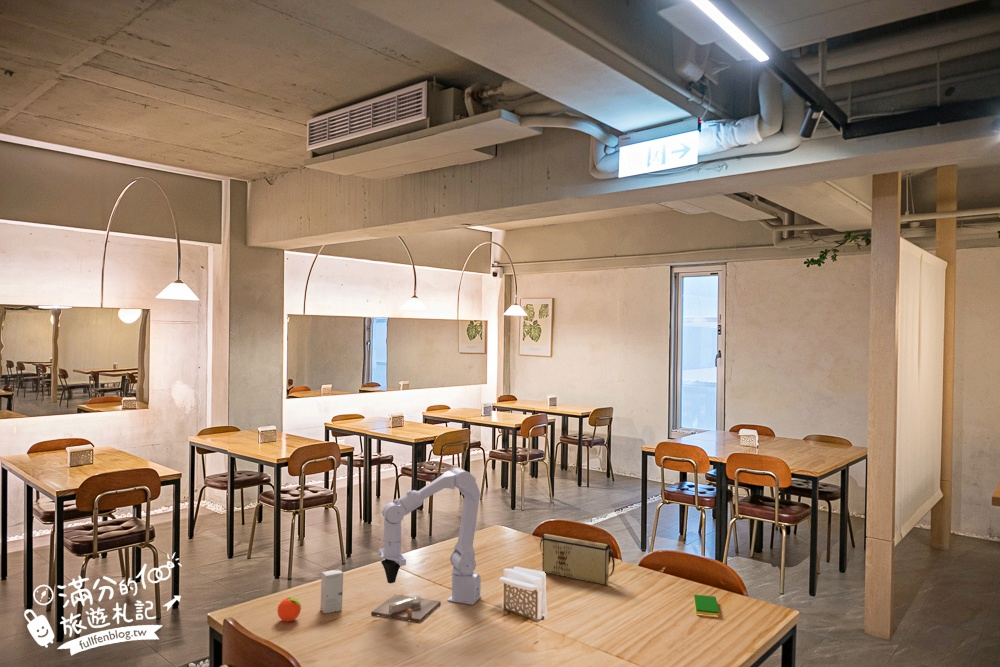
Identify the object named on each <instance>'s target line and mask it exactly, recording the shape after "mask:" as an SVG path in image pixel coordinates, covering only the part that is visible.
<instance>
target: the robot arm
mask: <svg viewBox="0 0 1000 667" xmlns="http://www.w3.org/2000/svg"><path fill="white" fill-rule="evenodd" d="M456 488H457V489H458V490H459V491H460V493H461V494H462V495H463V497H464V498H463V505H462V512H461V519H460V524H459V531H458V532H459V533H458V537H457V542H456V543H455V545H454V549H453V551H452V553H451V554H450V558H449V561H450V564H451V565H452V567H453V568H452V570H451V572H452V573H451V595H450V596H449V597H448V598H447V601H448V602H452V601H453V602H455V603H460V604H467V605H474V604H475V603H476V602H477V601H478V600H480V598H482V595H481V588H482V587H481V586H482V585H481V582H482V579H481V575H480V574H478V573H476V572H474V571H475V570H476V567H477V566H476V565H477V562H476V560H475V559H476V558H475V556H476V555H475V554H476V553H475V549H474V548H475V547H474V539H475V534H476V533H475V532H476V525H477V518H478V512H479V505H480V498H481V492H480V489H479V487H478V484H477V482H476V478H475V476H474V475H473V474H472V473H471V472H470V471H466V470H465V469H463V468H462V467H459V466H454V467H452V468H451V469H449V470H447V471H444V473H443V474H441V475H439V477H437V478H435V479H434V480H433V481H431V482H430V483H428V484H427V485H425V486H424V487H422V488H421V489H419V490H415V489H412V490H410V489H409V490H407V491H406V494H404V495H402V496H401V497H399V498H398V499H397V498H395V499H394V500H393V501H392V502H388V503H386V504H385V506H384V507H383V509H382V510H381V514H382V517H383V520H384V521H383V543H382V544H383V548H378V555H379V558H380V559H381V564H382V567H383V569H384V572H385V577H386V581H387V583H388V584H394V583H396V580H397V576H398V573H399V570H400V568H401V567H404V566H407V559H406V558H405V557H404V556H403V553H402V521H403V520H404V517H405V516H407V515H408V514H410V513H411V512H413V511H414V510H416V509H417V508H420V507H421V506H423V502H424V500H425V499H428V498H429V497H431V496H433V495H434V494H437V493H438V492H440V491H442V490H444V489H451V490H453V489H454V490H455V489H456ZM453 602H452V603H453Z"/></svg>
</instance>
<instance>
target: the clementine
mask: <svg viewBox="0 0 1000 667" xmlns="http://www.w3.org/2000/svg"><path fill="white" fill-rule="evenodd" d="M301 609H302V605H301V603H300V601H299V600H298V599H296V598H295V597H290V596H289V597H286V598H284V599H282V600H281V601H280V602H279V604H278V606H277V615H278V618H280V621H283V622H292V621H294V620H296V619H297V618H298V617H299V615H300V613H301Z"/></svg>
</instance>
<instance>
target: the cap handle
mask: <svg viewBox="0 0 1000 667" xmlns="http://www.w3.org/2000/svg"><path fill="white" fill-rule="evenodd" d="M421 598H422V597H421V596H420V595H411V596H410V598H409V599H406V600H403V601H400V602H397V603H394V604H391V605H389V613H390V614H393V613H396V612H399V611H402V610H405V609H408V608H411V607H419V606H420V605H421Z"/></svg>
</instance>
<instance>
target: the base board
mask: <svg viewBox="0 0 1000 667" xmlns="http://www.w3.org/2000/svg"><path fill="white" fill-rule="evenodd" d="M410 597H411V596H408V595H401V594H394V595H392V596H391V597H389V598H388V599H386V600H385V601H384V602H382V603H381V604H380V605H378V606H377V607H376V608H374V609H373V610H372V611H371V612H370V615H371V616H376V615H379V616H378V617H382V616H383V617H384V618H388V617H391V618H390V619H394V618H398V619H397V620H400V619H403V620H402V621H407V620H410V621H409V622H413V621H416V622H415V623H419V622H420V623H422V621H424V620H425V617H426V616H427V615H428V614H429V615H430V614H431V613H433V612H434V611H435V610H436V609H437V608H438V607H439V606H440V605H441V600H435V599H429V598H423V597H421V605H420V606H419V607H411V608H408V609H405V610H402V611H399V612H396V613H393V614H390V613H389V605H391V604H394V603H397V602H400V601H403V600H406V599H409V598H410ZM437 606H438V607H437ZM436 607H437V608H436ZM435 608H436V609H435ZM434 609H435V610H434ZM429 615H428V616H429ZM428 616H427V617H428ZM383 617H382V618H383ZM427 617H426V618H427Z"/></svg>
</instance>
